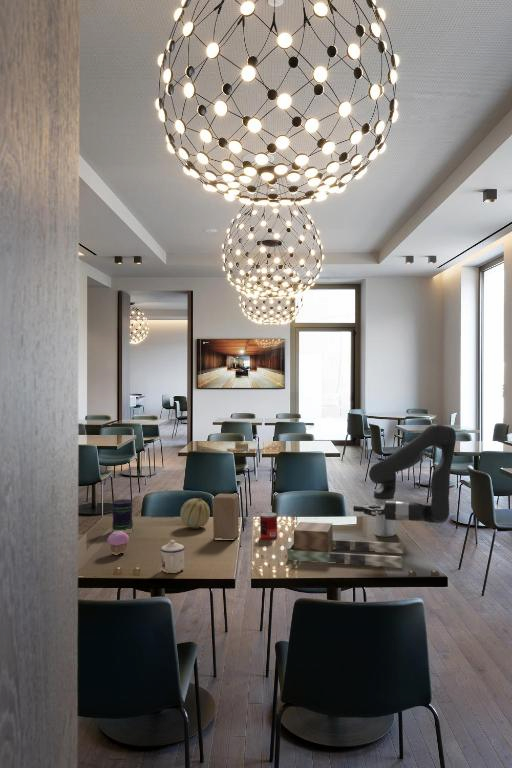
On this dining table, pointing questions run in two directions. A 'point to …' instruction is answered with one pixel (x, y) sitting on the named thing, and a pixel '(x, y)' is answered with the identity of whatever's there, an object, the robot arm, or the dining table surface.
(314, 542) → the walnut block
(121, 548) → the cupcake
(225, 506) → the block
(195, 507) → the cantaloupe
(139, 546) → the dining table surface
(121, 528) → the navy striped cylinder
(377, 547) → the tray
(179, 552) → the teacup with lid
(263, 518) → the canned food
